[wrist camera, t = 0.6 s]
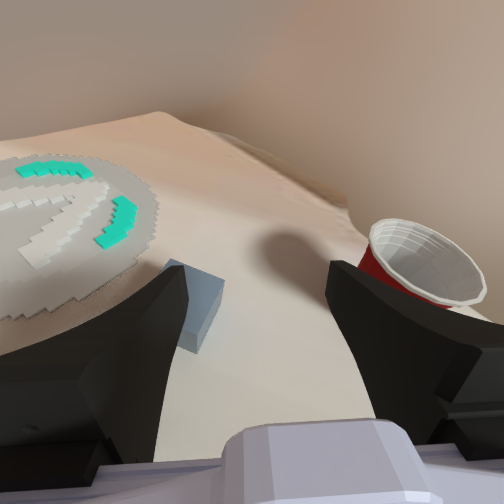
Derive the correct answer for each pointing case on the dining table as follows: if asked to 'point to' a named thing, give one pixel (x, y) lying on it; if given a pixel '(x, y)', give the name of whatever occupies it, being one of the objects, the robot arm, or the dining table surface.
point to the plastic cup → (422, 264)
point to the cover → (198, 305)
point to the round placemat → (67, 229)
